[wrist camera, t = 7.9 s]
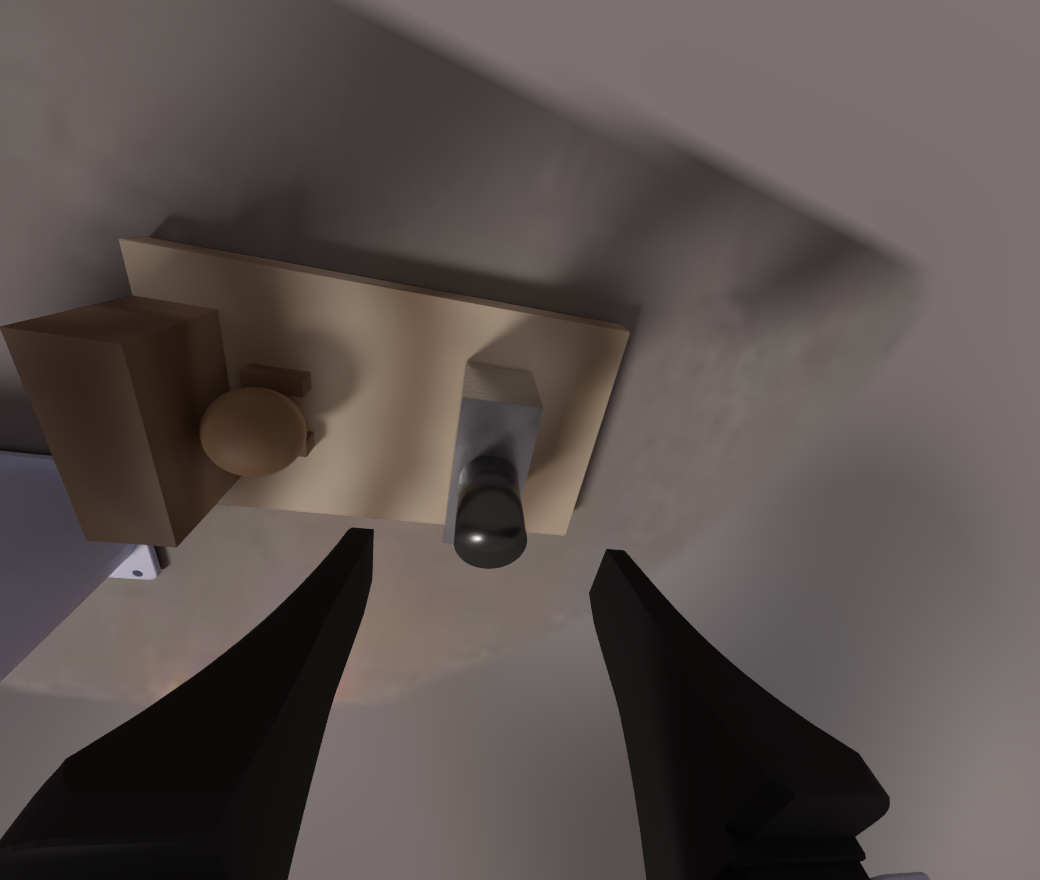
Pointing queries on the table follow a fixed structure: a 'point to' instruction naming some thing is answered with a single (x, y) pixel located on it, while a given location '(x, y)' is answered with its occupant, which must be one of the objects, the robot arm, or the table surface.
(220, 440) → the walnut
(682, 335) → the table surface
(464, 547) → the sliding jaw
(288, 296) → the base
